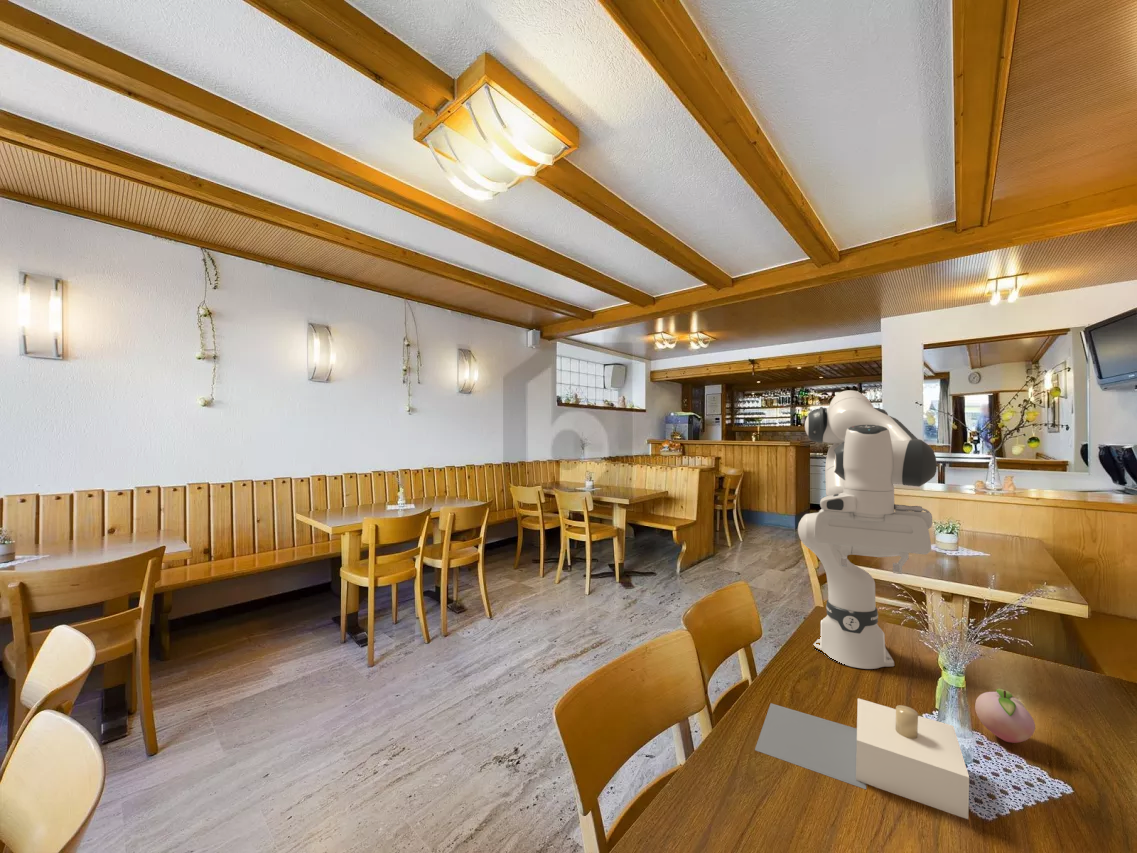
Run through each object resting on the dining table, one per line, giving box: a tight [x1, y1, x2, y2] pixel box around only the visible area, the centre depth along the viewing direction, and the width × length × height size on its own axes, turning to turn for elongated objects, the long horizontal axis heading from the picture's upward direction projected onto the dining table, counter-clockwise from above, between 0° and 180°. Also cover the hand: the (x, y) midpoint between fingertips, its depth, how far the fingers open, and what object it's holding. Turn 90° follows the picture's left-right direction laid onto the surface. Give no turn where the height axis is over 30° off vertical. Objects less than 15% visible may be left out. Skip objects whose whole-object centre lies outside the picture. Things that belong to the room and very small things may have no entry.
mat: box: [754, 702, 867, 790], centre depth 90 cm, size 18×18×1 cm
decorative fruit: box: [974, 688, 1036, 744], centre depth 90 cm, size 9×8×10 cm
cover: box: [856, 698, 970, 820], centre depth 82 cm, size 15×15×11 cm
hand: (869, 569), depth 94 cm, fingers open, 8 cm apart
